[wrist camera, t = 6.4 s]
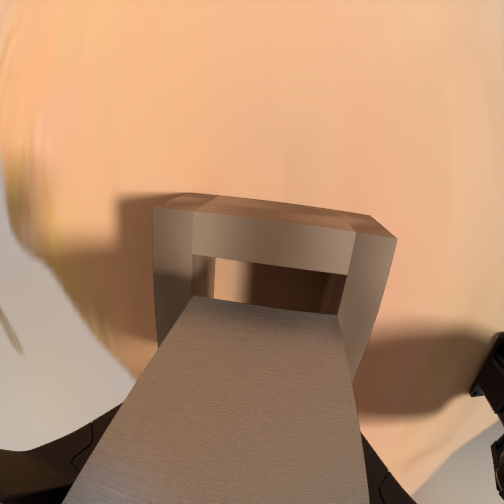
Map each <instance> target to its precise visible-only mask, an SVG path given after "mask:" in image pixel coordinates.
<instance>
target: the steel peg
mask: <svg viewBox="0 0 504 504" xmlns="http://www.w3.org/2000/svg"><path fill="white" fill-rule="evenodd" d="M62 504H370V502H369V493H368V484H367V475H366V467H365V460H364V453H363V446H362V439H361V433H360V426H359V420H358V415H357V409H356V403H355V398H354V392H353V387H352V382H351V377H350V372H349V367H348V362H347V357H346V352H345V348H344V343H343V339H342V334H341V330H340V325H339V321H338V317H337V315H328V314H319V313H311V312H303V311H295V310H287V309H280V308H272V307H265V306H258V305H251V304H244V303H238V302H231V301H225V300H219V299H213V298H207V297H201V296H195V295H194V296H193V297H192V299H191V300H190V302H189V303H188V305H187V306H186V308H185V309H184V311H183V312H182V314H181V315H180V316H179V318H178V319H177V321H176V322H175V324H174V325H173V327H172V329H171V330H170V332H169V333H168V335H167V336H166V338H165V339H164V341H163V342H162V344H161V345H160V347H159V348H158V350H157V351H156V353H155V354H154V356H153V357H152V359H151V360H150V362H149V363H148V365H147V367H146V368H145V370H144V371H143V373H142V374H141V376H140V377H139V379H138V380H137V382H136V384H135V385H134V387H133V388H132V390H131V391H130V393H129V395H128V396H127V398H126V399H125V401H124V402H123V404H122V406H121V407H120V409H119V410H118V412H117V413H116V415H115V417H114V418H113V420H112V421H111V423H110V425H109V426H108V428H107V429H106V431H105V433H104V434H103V436H102V437H101V439H100V441H99V442H98V444H97V446H96V447H95V449H94V451H93V452H92V454H91V455H90V457H89V459H88V460H87V462H86V464H85V465H84V467H83V469H82V470H81V472H80V474H79V475H78V477H77V479H76V480H75V482H74V484H73V485H72V487H71V489H70V490H69V492H68V494H67V496H66V497H65V499H64V501H63V502H62Z"/></svg>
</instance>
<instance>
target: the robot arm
mask: <svg viewBox="0 0 504 504" xmlns="http://www.w3.org/2000/svg"><path fill="white" fill-rule="evenodd" d="M469 394H470V396H471V397H477V396H485V397H486V399H487V401H488V403H489V404H490V406H491V408H492V410H493V411H494V413H495V414H497V415H498V417H499V419H500V421H501V423H502V425H503V427H504V333H503V334H501V335H500V336H499V338H498V340H497V342H496V344H495V346H494V348H493V350H492V352H491V354H490V356H489V358H488V360H487V362H486V363H485V365H484V367H483V369H482V371H481V372H480V374H479V376H478V378H477V379H476V381H475V383H474V384H473V386H472V388H471V389H470V391H469ZM122 404H123V403H121V404H120V405H118V406H117V407H115V408H113V409H112V410H110V411H108V412H107V413H105V414H104V415H102V416H100V417H99V418H97V419H95V420H94V421H92V423H91V422H90V423H88V424H87V425H85V426H83V427H82V428H80V429H78V430H76V431H74V432H73V433H71V434H68V435H66V436H64V437H62V438H60V439H57V440H55V441H53V442H50V443H47V444H45V445H42V446H40V447H37V448H35V449H32V450H28V451H10V450H2V449H0V504H62V502H63V501H64V499H65V497H66V496H67V494H68V492H69V490H70V489H71V487H72V485H73V484H74V482H75V480H76V479H77V477H78V475H79V474H80V472H81V470H82V469H83V467H84V465H85V464H86V462H87V460H88V459H89V457H90V455H91V454H92V452H93V451H94V449H95V447H96V446H97V444H98V442H99V441H100V439H101V437H102V436H103V434H104V433H105V431H106V429H107V428H108V426H109V425H110V423H111V421H112V420H113V418H114V417H115V415H116V413H117V412H118V410H119V409H120V407H121V406H122ZM360 433H361V431H360ZM361 439H362V446H363V453H364V460H365V467H366V475H367V484H368V493H369V502H370V504H417V503H416V502H415V501H414V500H413V499H412V498H411V497H410V496H409V495H408V494H407V493H406V491H405V490H404V489H403V488H402V487H401V486H400V484H399V483H398V482H397V481H396V479H395V478H394V477H393V475H392V474H391V473H390V472H389V471H388V469H387V467H386V466H385V465H384V463H383V462H382V460H381V459H380V458H379V456H378V455H377V454H376V452H375V451H374V449H373V448H372V447H371V445H370V444H369V443H368V441H367V440H366V438H365V437H364V436H363V434H362V433H361ZM491 451H492V457H493V464H494V471H495V480H496V487H497V490H498V491H499V495H500V496H501V497H502V499H503V500H504V434H503V435H502V436H501V437H500V438H499V439H498V440H497V441H495V442H494V443H493V444H492V445H491Z"/></svg>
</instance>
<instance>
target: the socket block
mask: <svg viewBox="0 0 504 504" xmlns="http://www.w3.org/2000/svg"><path fill="white" fill-rule="evenodd" d="M396 243H397V238H396V237H395V236H394V235H392V234H391V233H390V232H389V231H388V230H387V229H385V228H384V227H383V226H382V225H381V224H379V223H378V222H377V221H376V220H375V219H373V218H372V217H371V216H369V215H363V214H357V213H351V212H344V211H338V210H331V209H325V208H318V207H311V206H304V205H296V204H289V203H281V202H273V201H265V200H256V199H248V198H239V197H229V196H220V195H209V194H199V193H186V194H183V195H181V196H178V197H176V198H174V199H171V200H169V201H166V202H164V203H162V204H159V205H157V206H155V207H153V275H154V297H155V313H156V327H157V339H158V348H159V347H160V345H161V344H162V342H163V341H164V339H165V338H166V336H167V335H168V333H169V332H170V330H171V329H172V327H173V325H174V324H175V322H176V321H177V319H178V318H179V316H180V315H181V314H182V312H183V311H184V309H185V308H186V306H187V305H188V303H189V302H190V300H191V299H192V297H193V296H194V295H195V296H201V297H207V298H213V296H214V275H215V257H217V258H224V259H231V260H238V261H246V262H253V263H260V264H268V265H275V266H283V267H290V268H298V269H305V270H313V271H320V272H327V277H326V282H325V286H324V291H323V296H322V300H321V305H320V309H319V314H328V315H337V317H338V321H339V325H340V330H341V334H342V339H343V343H344V348H345V352H346V357H347V362H348V367H349V372H350V377H351V382H353V380H354V377H355V375H356V372H357V370H358V367H359V364H360V362H361V359H362V357H363V354H364V351H365V348H366V346H367V343H368V340H369V337H370V334H371V331H372V328H373V325H374V322H375V319H376V316H377V313H378V310H379V306H380V303H381V300H382V296H383V293H384V289H385V286H386V282H387V279H388V275H389V271H390V267H391V263H392V259H393V255H394V251H395V247H396Z"/></svg>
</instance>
